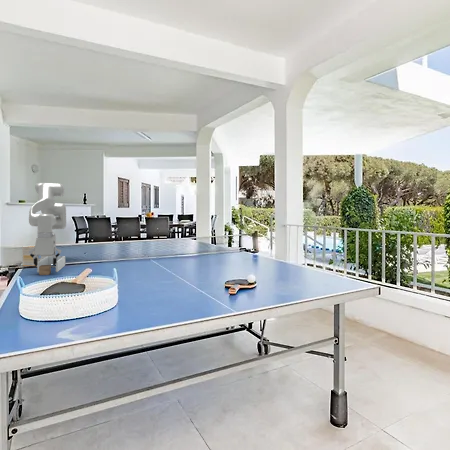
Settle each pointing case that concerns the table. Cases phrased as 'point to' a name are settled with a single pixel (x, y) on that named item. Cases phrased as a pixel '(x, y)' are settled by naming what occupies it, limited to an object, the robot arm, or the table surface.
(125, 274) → the table surface
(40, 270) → the walnut block
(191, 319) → the table surface
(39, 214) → the robot arm
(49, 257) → the frosted channel
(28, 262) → the supplement box
